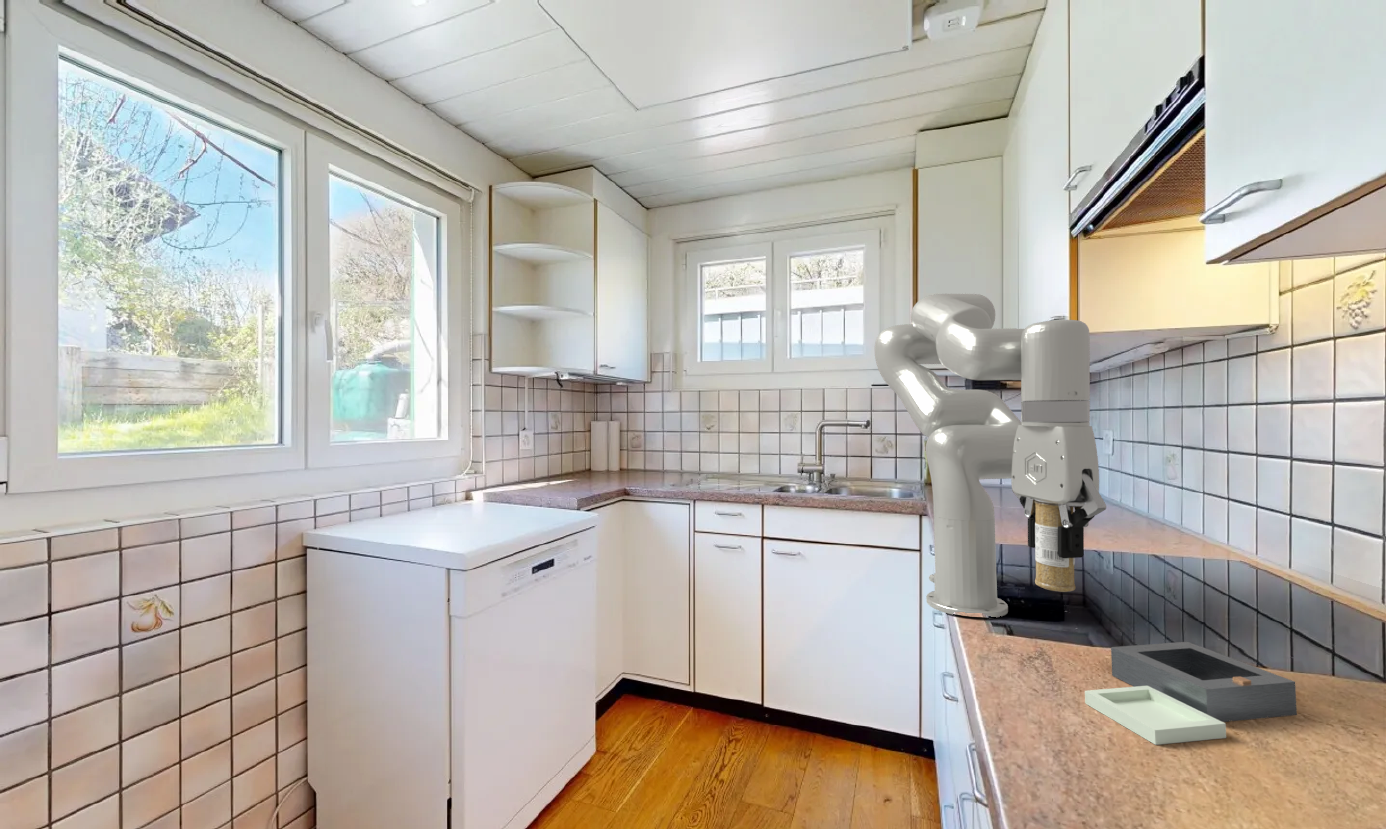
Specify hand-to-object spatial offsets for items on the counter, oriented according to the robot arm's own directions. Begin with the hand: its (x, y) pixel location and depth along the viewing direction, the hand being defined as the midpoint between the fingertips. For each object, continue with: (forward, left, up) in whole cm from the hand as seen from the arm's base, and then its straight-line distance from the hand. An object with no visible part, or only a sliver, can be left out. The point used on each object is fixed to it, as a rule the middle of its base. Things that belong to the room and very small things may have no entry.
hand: (1054, 550), depth 71 cm
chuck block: (+10, +9, -15) cm, 20 cm away
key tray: (+14, -2, -15) cm, 20 cm away
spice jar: (0, 0, -5) cm, 5 cm away
